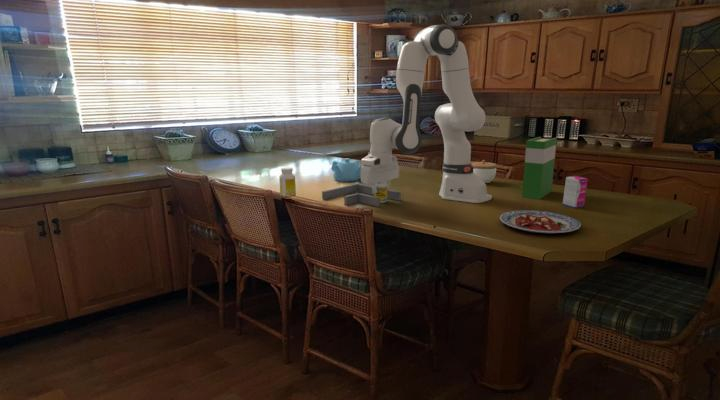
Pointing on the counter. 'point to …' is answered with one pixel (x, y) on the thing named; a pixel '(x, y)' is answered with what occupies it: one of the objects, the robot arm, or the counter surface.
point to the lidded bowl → (485, 170)
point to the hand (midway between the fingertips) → (380, 191)
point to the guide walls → (359, 197)
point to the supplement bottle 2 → (381, 191)
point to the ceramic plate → (540, 221)
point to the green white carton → (539, 167)
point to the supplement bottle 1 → (287, 182)
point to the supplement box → (575, 191)
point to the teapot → (346, 170)
